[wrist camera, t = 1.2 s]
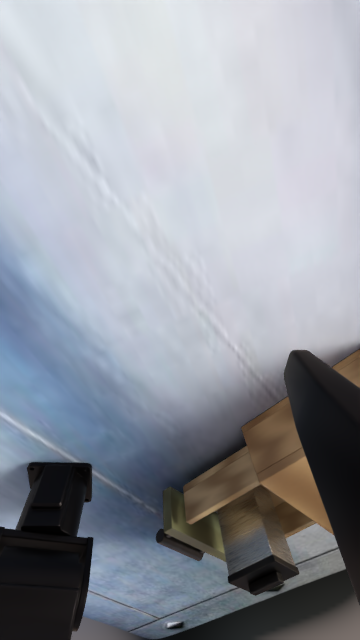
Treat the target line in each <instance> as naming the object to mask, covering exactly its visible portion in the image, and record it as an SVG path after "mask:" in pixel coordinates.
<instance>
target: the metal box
mask: <svg viewBox="0 0 360 640" xmlns="http://www.w3.org/2000/svg"><path fill="white" fill-rule="evenodd" d="M217 513H218V518H219V524H220V529H221V535H222V540H223V546H224V551H225V557H226V563H227V568H228V574H229V576H228V582H229V583H230V584H232V585H235V586H237V587H239V588H242V589H244V590H246V591H249V592H250V593H251V594H253V595H255V596H256V595H258V594H260V593H263V592H265V591H267V590H269V589H271V588H274V587H276V586H278V585H280V584H282V583H284V581H285V580H287V579H289V578H291V577H294V576H296V575H298V574H299V571H298V568H297V567H296V566H295V564H294V561H293V558H292V555H291V552H290V549H289V546H288V544H287V541H286V538H285V535H284V532H283V529H282V527H281V524H280V521H279V518H278V515H277V512H276V509H275V507H274V504H273V501H272V498H271V495H270V493H269V492H268V491H266V490H265V489H263V488H262V487H260V486H257V487H255V488H253V489H252V490H250V491H248V492H247V493H245V494H243V495H241V496H240V497H238V498H236V499H234V500H233V501H231V502H229V503H228V504H226V505H224V506H222V507H221V508H219V509H217Z"/></svg>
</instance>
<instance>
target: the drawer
mask: <svg viewBox="0 0 360 640" xmlns="http://www.w3.org/2000/svg"><path fill="white" fill-rule="evenodd" d="M257 486H260V487H262V488H263V489H265V490H266V491H268V492H269V493H270V495H271V498H272V501H273V504H274V507H275V509H276V512H277V515H278V518H279V521H280V524H281V527H282V529H283V532H284V535H285V538H287V537H289V536H291V535H293V534H295V533H297V532H299V531H301V530H303V529H305V528H307V527H309V526H311V525H313V524H315V523H316V522H314V521H313V520H312V519H310V518H309V517H307V516H306V515H304V514H303V513H302V512H300V511H299V510H297V509H296V508H294V507H293V506H292V505H290V504H289V503H287V502H286V501H284V500H283V499H282V498H280V497H279V496H277V495H276V494H274V493H273V492H272V491H270V490H269V489H267V488H266V487H264V486H263V485H262V484H260V483H259V480H258V477H257V474H256V472H255V469H254V466H253V463H252V460H251V457H250V454H249V450H248V447H247V446H245V447H244V448H242V449H241V450H239V451H238V452H236V453H234V454H233V455H231V456H230V457H228V458H227V459H225V460H223V461H222V462H220V463H219V464H217V465H216V466H214V467H212V468H211V469H209V470H208V471H206V472H204V473H203V474H201V475H200V476H198V477H197V478H195V479H193V480H192V481H190V482H189V483H187V484H186V485H184V486H183V491H184V494H182V493H181V492H179V491H177V490H175V489H174V488H172V487H168V488H167V489H165V490H164V491H163V520H164V529H160V530H158V532H157V534H156V541H157V543H159V544H161V545H164V546H166V547H168V548H170V549H172V550H175V551H177V552H179V553H181V554H184V555H186V556H188V557H190V558H193V559H195V560H197V561H200V560H201V559H202V557H203V553H205V552H206V553H208V554H210V555H212V556H215V557H217V558H219V559H221V560H223V561H225V562H226V557H225V551H224V546H223V540H222V535H221V529H220V524H219V518H218V513H216V512H214V511H217V509H219V508H221V507H222V506H224V505H226V504H228V503H229V502H231V501H233V500H234V499H236V498H238V497H240V496H241V495H243V494H245V493H247V492H248V491H250V490H252V489H253V488H255V487H257Z"/></svg>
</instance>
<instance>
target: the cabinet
mask: <svg viewBox="0 0 360 640" xmlns="http://www.w3.org/2000/svg"><path fill="white" fill-rule="evenodd" d="M332 368H333V369H334V370H336V371H337V372H338V373H340V374H341V375H343V376H344V377H345V378H347V379H348V380H349V381H351V382H352V383H354V384H355V385H356V386H358V387H359V388H360V349H359V350H357V351H356V352H354V353H353V354H351V355H350V356H348V357H347V358H345V359H344V360H342V361H341V362H339V363H338V364H336V365H335V366H333V367H332ZM241 429H242V432H243V435H244V438H245V441H246V444H247V447H248V450H249V454H250V457H251V460H252V463H253V466H254V469H255V472H256V474H257V477H258V480H259V483H260V484H262V485H263V486H264V487H266V488H267V489H269V490H270V491H272V492H273V493H274V494H276V495H277V496H279V497H280V498H282V499H283V500H284V501H286V502H287V503H289V504H290V505H292V506H293V507H294V508H296V509H297V510H299V511H300V512H302V513H303V514H304V515H306V516H307V517H309V518H310V519H312V520H313V521H314V522H316V523H317V524H319V525H320V526H322V527H323V528H324V529H326V530H327V531H329V532H330V533H332V534H333V535H334V533H333V530H332V527H331V525H330V522H329V519H328V516H327V514H326V511H325V508H324V505H323V503H322V500H321V497H320V494H319V492H318V489H317V486H316V483H315V480H314V478H313V475H312V472H311V469H310V467H309V464H308V461H307V458H306V456H305V453H304V450H303V447H302V445H301V442H300V439H299V436H298V433H297V430H296V426H295V423H294V418H293V414H292V410H291V406H290V402H289V398H288V397H286V398H285V399H283V400H282V401H280V402H279V403H277V404H276V405H274V406H273V407H271V408H270V409H268V410H267V411H265V412H264V413H262V414H261V415H259V416H258V417H256V418H255V419H253V420H252V421H250V422H249V423H247V424H245V425H244V426H242V427H241Z"/></svg>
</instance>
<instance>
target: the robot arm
mask: <svg viewBox="0 0 360 640" xmlns="http://www.w3.org/2000/svg"><path fill="white" fill-rule="evenodd" d="M284 381H285V385H286V389H287V393H288V398H289V402H290V406H291V410H292V414H293V418H294V423H295V426H296V430H297V433H298V436H299V439H300V442H301V445H302V447H303V450H304V453H305V456H306V458H307V461H308V464H309V467H310V469H311V472H312V475H313V478H314V480H315V483H316V486H317V489H318V492H319V494H320V497H321V500H322V503H323V505H324V508H325V511H326V514H327V516H328V519H329V522H330V525H331V527H332V530H333V533H334V536H335V538H336V541H337V544H338V547H339V550H340V552H341V555H342V558H343V561H344V563H345V566H346V569H347V571H348V574H349V577H350V580H351V583H352V585H353V588H354V591H355V594H356V596H357V599H358V602H359V605H360V388H359V387H358V386H356V385H355V384H354V383H352V382H351V381H349V380H348V379H347V378H345V377H344V376H343V375H341V374H340V373H338V372H337V371H336V370H334V369H333V368H331V367H330V366H329V365H327V364H326V363H324V362H323V361H322V360H320V359H319V358H317V357H316V356H315V355H313V354H312V353H311V352H309V351H307V350H293V351H291V352H290V354H289V357H288V361H287V364H286V367H285V370H284ZM27 471H28V477H29V483H30V489H31V490H30V493H29V495H28V498H27V500H26V503H25V506H24V508H23V511H22V513H21V516H20V519H19V521H18V524H17V526H16V529H15V530H14V529H5V527H0V640H70V639H71V634H72V631H77V630H78V628H79V626H80V623H81V619H82V616H83V612H84V608H85V603H86V598H87V592H88V586H89V577H90V568H91V558H92V548H93V537H88V538H83V537H77V533H78V529H79V524H80V519H81V514H82V510H83V505H84V502H90V501H91V498H92V466H91V465H90V464H87V463H38V462H32V463H30V464H29V465H28V467H27Z"/></svg>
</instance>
